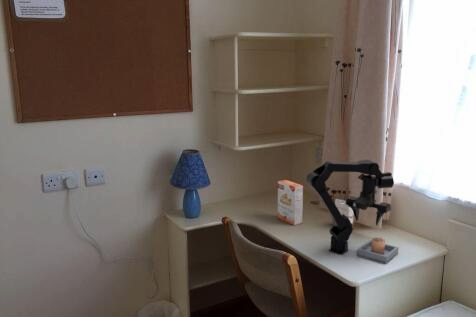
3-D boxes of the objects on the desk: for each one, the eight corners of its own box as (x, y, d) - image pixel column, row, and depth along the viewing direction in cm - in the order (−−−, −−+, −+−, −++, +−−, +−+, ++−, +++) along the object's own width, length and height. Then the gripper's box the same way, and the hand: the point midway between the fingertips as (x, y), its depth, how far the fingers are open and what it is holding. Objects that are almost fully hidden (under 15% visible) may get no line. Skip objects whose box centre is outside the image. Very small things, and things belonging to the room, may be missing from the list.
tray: (356, 255, 188) (357, 248, 188) (369, 246, 198) (370, 239, 197) (386, 263, 180) (386, 257, 179) (398, 253, 190) (398, 247, 189)
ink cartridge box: (353, 227, 220) (354, 200, 217) (348, 230, 217) (349, 202, 214) (338, 223, 226) (339, 196, 223) (333, 226, 223) (334, 198, 220)
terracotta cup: (368, 253, 188) (369, 240, 187) (374, 249, 192) (374, 236, 191) (381, 256, 185) (382, 243, 184) (386, 252, 189) (387, 239, 188)
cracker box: (276, 218, 235) (277, 180, 231) (285, 216, 238) (286, 179, 234) (293, 226, 223) (294, 186, 219) (302, 223, 227) (303, 184, 222)
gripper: (340, 189, 190) (339, 223, 193) (382, 197, 178) (379, 233, 181) (352, 183, 198) (350, 216, 201) (392, 191, 186) (390, 225, 189)
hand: (366, 222), depth 193 cm, fingers open, 9 cm apart
